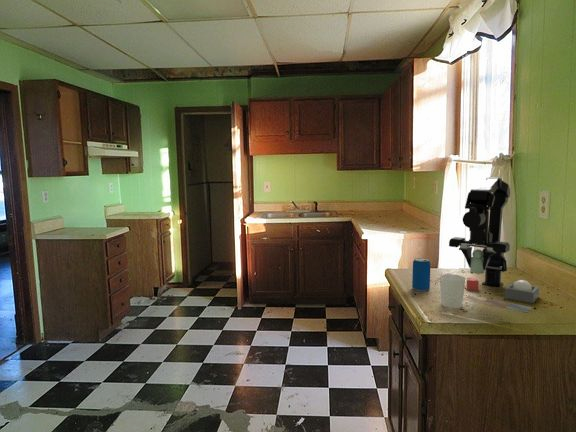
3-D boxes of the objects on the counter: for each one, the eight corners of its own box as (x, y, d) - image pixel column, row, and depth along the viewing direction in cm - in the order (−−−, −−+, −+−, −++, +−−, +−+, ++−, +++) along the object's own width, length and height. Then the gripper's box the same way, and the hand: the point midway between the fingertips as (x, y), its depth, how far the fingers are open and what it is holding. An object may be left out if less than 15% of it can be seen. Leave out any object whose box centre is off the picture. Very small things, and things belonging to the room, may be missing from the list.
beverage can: (430, 292, 157) (431, 261, 155) (412, 291, 158) (413, 261, 157) (428, 287, 163) (429, 257, 162) (411, 287, 164) (412, 257, 163)
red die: (466, 287, 163) (466, 276, 162) (477, 288, 161) (478, 277, 161) (466, 290, 159) (467, 279, 159) (478, 291, 158) (478, 279, 157)
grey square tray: (510, 292, 155) (511, 282, 155) (538, 297, 150) (539, 287, 149) (504, 298, 149) (505, 287, 148) (532, 304, 143) (533, 292, 142)
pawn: (472, 269, 149) (473, 247, 149) (485, 271, 147) (486, 249, 146) (468, 272, 146) (469, 249, 145) (481, 274, 143) (482, 251, 142)
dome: (514, 292, 153) (515, 277, 153) (532, 296, 149) (533, 279, 149) (510, 296, 149) (511, 280, 148) (529, 300, 145) (530, 283, 144)
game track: (468, 296, 152) (468, 295, 152) (532, 308, 139) (532, 307, 139) (462, 300, 147) (462, 299, 147) (527, 313, 134) (527, 312, 134)
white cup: (461, 311, 137) (462, 281, 136) (436, 306, 141) (437, 278, 140) (465, 304, 144) (466, 276, 142) (442, 300, 148) (442, 273, 146)
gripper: (515, 224, 144) (512, 268, 146) (460, 220, 157) (458, 260, 158) (506, 228, 136) (503, 274, 138) (449, 223, 148) (447, 266, 150)
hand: (477, 268), depth 146 cm, fingers closed on pawn, 4 cm apart
